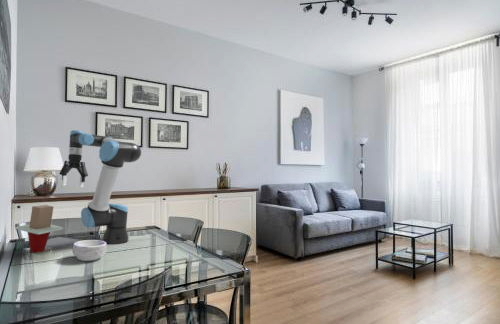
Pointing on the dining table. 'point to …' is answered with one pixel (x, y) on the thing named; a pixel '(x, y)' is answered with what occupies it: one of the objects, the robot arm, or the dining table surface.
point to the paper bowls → (89, 249)
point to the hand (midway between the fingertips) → (72, 186)
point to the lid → (40, 221)
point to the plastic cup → (38, 241)
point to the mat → (60, 242)
